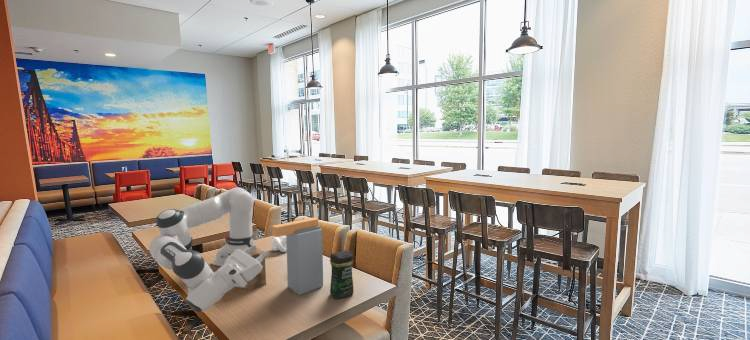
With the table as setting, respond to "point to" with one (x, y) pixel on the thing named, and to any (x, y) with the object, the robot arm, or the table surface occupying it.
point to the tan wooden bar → (293, 226)
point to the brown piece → (261, 276)
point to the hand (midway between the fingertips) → (260, 249)
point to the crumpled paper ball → (279, 244)
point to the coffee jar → (341, 274)
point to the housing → (305, 260)
